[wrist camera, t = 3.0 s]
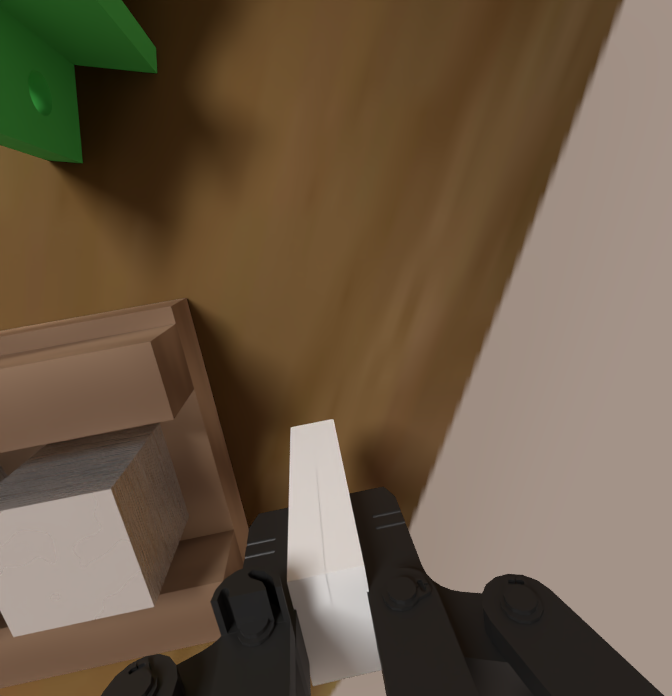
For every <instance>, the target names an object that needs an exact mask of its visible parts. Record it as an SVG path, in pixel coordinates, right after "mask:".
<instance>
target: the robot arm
mask: <svg viewBox="0 0 672 696" xmlns="http://www.w3.org/2000/svg"><path fill="white" fill-rule="evenodd" d="M210 602H211V606H212V609H213V612H214V615H215V618H216V621H217V624H218V627H219V630H220V634H221V637H220V638H219V639H218V640H217V641H216V642H215V643H213V644H212V645H211V646H209V647H208V648H206V649H205V650H203V651H202V652H200V653H198V654H196V655H194V656H193V657H191V658H189V659H187V660H185V661H183V662H181V663H180V664H178V665H176V664H175V663H174V662H173V660H172V659H171V658H170V657H168V656H165V655H161V654H155V655H150V656H145V657H143V658H141V659H139V660H137V661H135V662H133V663H131V664H130V665H128V666H127V667H126V668H125V669H124V670H123V671H121V672H120V673H119V674H118V675H117V676H115V678H114V679H113V680H112V682H111V683H110V684H109V685H108V687H107V688H106V689H105V690H104V692H103V693H102V695H101V696H311V693H310V676H311V680H312V684H313V686H315V685H319V684H324V683H328V682H332V681H337V680H341V679H345V678H350V677H354V676H358V675H363V674H367V673H371V672H376V671H380V670H382V674H383V679H384V684H385V690H386V695H387V696H664V695H663V694H662V693H661V692H660V691H658V690H657V689H656V688H655V687H654V686H653V685H652V684H651V683H650V682H649V681H648V680H647V679H646V678H644V677H643V676H642V675H641V674H640V673H639V672H638V671H637V670H636V669H635V668H634V667H633V666H631V664H629V663H628V662H627V661H626V660H625V659H624V658H623V657H622V656H621V655H620V654H619V653H618V652H617V651H615V650H614V649H613V648H612V647H611V646H610V645H609V644H608V643H607V642H606V641H605V640H604V639H602V637H600V636H599V635H598V634H597V633H596V632H595V631H594V630H593V629H592V628H591V627H590V626H589V625H588V624H587V623H585V622H584V621H583V620H582V619H581V618H580V617H579V616H578V615H577V614H576V613H575V612H574V611H572V609H571V608H569V607H568V606H567V605H566V604H565V603H564V602H563V601H562V600H561V599H560V598H559V597H557V595H555V594H554V593H553V592H552V591H551V590H550V589H549V588H547V587H546V586H544V585H543V584H542V583H540V582H539V581H537V580H535V579H532V578H529V577H526V576H524V575H515V574H506V575H503V576H499V577H495V578H494V579H493V580H491V581H490V582H489V583H488V584H486V586H485V588H484V591H483V593H482V594H481V593H469V592H459V591H454V590H450V589H448V588H445V587H442V586H440V585H439V584H437V583H436V582H434V581H433V580H432V579H431V578H430V577H429V576H428V575H427V574H426V572H425V571H424V569H423V567H422V565H421V562H420V560H419V557H418V554H417V552H416V549H415V546H414V544H413V541H412V539H411V537H410V534H409V531H408V528H407V526H406V524H405V521H404V518H403V516H402V513H401V511H400V508H399V505H398V503H397V500H396V497H395V496H394V495H393V494H392V493H390V492H389V491H388V490H387V489H386V488H384V487H379V488H374V489H370V490H365V491H360V492H355V493H350V494H349V491H348V486H347V482H346V477H345V472H344V467H343V463H342V458H341V453H340V448H339V444H338V439H337V434H336V429H335V425H334V420H333V419H331V420H326V421H321V422H316V423H310V424H305V425H300V426H295V427H291V436H290V477H289V508H285V509H280V510H275V511H270V512H265V513H261V514H258V516H257V517H256V519H255V520H254V522H253V523H252V525H251V526H250V528H249V532H248V538H247V547H246V551H245V560H244V563H243V569H240V570H237V571H236V572H234V573H233V574H231V575H230V576H228V577H227V578H225V579H224V580H223V582H222V583H221V584H220V585H219V586H218V587H217V589H216V590H215V592H214V594H213V597H212V599H211V601H210Z"/></svg>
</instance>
